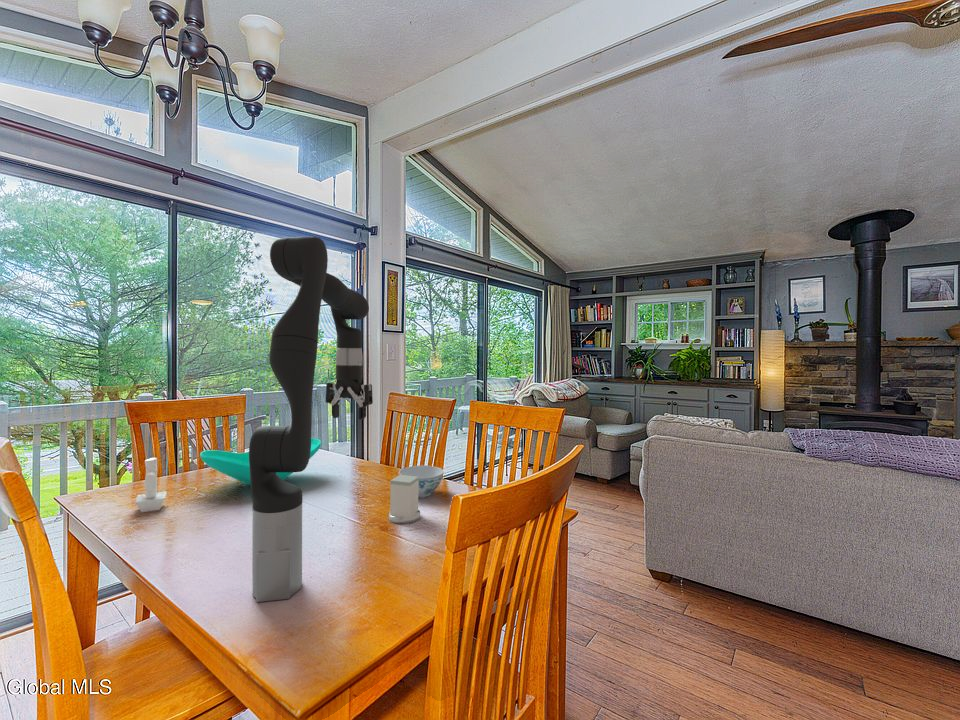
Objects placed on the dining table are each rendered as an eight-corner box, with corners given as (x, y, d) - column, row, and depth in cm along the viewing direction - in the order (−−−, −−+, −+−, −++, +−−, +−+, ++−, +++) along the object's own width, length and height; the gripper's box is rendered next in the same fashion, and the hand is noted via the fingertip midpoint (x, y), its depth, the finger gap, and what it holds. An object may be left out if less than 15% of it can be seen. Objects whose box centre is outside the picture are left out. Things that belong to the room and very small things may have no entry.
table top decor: (209, 506, 137) (209, 463, 136) (192, 484, 157) (191, 447, 157) (334, 482, 163) (335, 445, 163) (306, 466, 184) (306, 433, 183)
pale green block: (409, 517, 127) (410, 482, 126) (390, 515, 128) (390, 480, 128) (418, 510, 132) (418, 476, 132) (399, 508, 134) (399, 474, 134)
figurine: (134, 516, 128) (133, 463, 128) (138, 505, 136) (137, 456, 136) (165, 511, 132) (164, 460, 132) (167, 501, 140) (167, 454, 140)
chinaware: (392, 490, 155) (393, 468, 155) (433, 485, 162) (434, 463, 161) (406, 504, 141) (406, 480, 141) (450, 497, 148) (450, 474, 148)
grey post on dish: (412, 525, 125) (412, 499, 125) (382, 521, 127) (383, 495, 127) (425, 514, 134) (425, 489, 133) (397, 510, 136) (397, 486, 136)
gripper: (320, 363, 130) (320, 419, 131) (364, 364, 126) (363, 422, 127) (335, 362, 138) (335, 415, 138) (377, 363, 134) (376, 418, 134)
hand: (348, 418), depth 133 cm, fingers open, 8 cm apart
